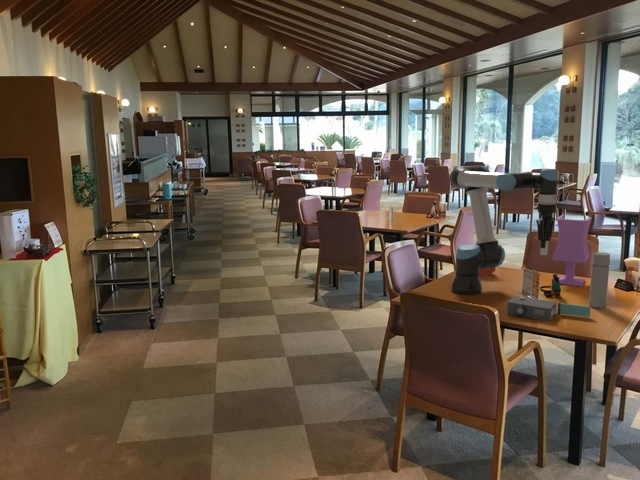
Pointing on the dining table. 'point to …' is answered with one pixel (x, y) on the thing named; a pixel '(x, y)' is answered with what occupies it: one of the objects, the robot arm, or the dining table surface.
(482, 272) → the french fries container
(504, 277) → the dining table surface
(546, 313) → the block
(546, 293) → the binoculars
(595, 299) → the water bottle
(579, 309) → the side door
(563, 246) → the purple table lamp
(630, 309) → the dining table surface
